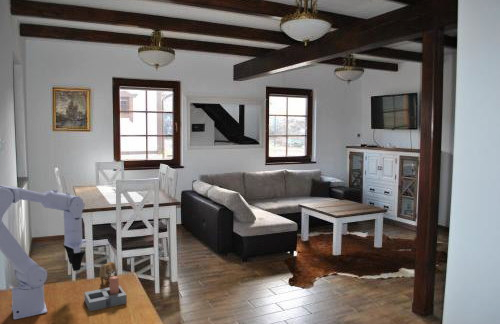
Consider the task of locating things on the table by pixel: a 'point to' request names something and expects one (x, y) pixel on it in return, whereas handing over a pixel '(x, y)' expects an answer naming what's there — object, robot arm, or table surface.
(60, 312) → the table surface
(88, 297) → the hole block
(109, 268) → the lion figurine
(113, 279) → the peg
